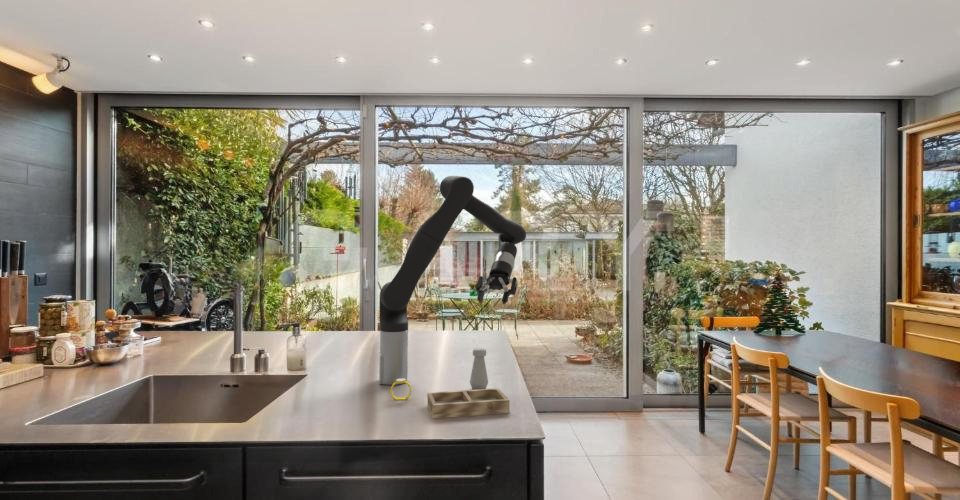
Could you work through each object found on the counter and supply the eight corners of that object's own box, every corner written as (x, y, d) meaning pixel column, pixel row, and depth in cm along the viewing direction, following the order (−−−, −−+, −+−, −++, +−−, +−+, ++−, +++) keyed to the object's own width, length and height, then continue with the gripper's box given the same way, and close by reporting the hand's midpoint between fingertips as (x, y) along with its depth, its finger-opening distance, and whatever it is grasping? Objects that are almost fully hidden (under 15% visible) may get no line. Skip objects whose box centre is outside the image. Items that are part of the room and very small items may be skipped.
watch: (390, 402, 137) (389, 381, 137) (391, 399, 140) (390, 379, 139) (411, 400, 138) (410, 379, 137) (411, 397, 140) (410, 377, 140)
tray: (433, 418, 123) (433, 405, 123) (427, 404, 134) (427, 392, 134) (509, 413, 128) (509, 400, 128) (498, 400, 139) (498, 388, 139)
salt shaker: (486, 392, 146) (486, 350, 146) (468, 391, 147) (468, 349, 147) (489, 387, 152) (490, 347, 152) (472, 386, 153) (472, 346, 153)
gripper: (481, 259, 170) (469, 293, 159) (519, 260, 165) (509, 295, 154) (486, 273, 175) (474, 307, 164) (523, 274, 170) (513, 309, 159)
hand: (491, 301), depth 159 cm, fingers open, 8 cm apart
